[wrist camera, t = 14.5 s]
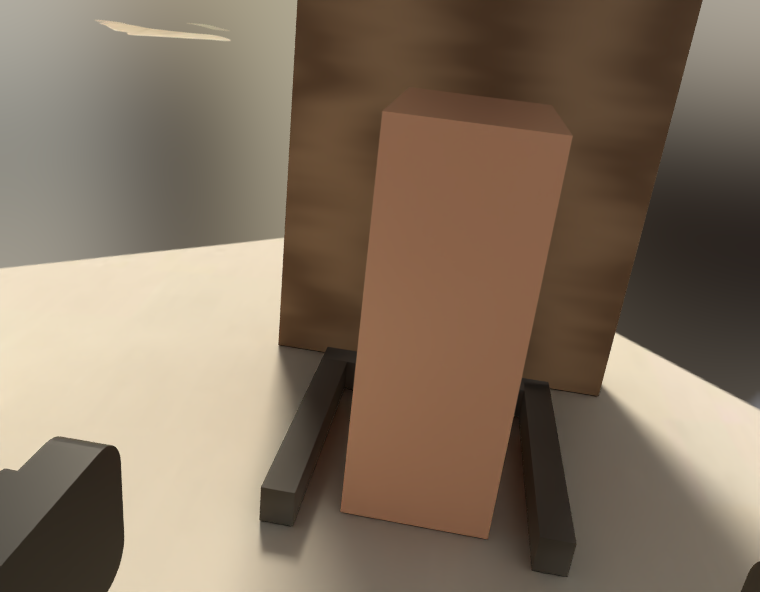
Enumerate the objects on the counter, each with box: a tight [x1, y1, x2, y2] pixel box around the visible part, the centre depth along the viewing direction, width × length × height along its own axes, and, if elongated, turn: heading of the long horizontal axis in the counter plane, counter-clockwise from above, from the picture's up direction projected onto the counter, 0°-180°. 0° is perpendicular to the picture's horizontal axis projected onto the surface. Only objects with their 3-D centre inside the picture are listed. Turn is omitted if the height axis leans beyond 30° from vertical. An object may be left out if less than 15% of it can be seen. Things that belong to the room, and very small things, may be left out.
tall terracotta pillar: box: [340, 87, 573, 539], centre depth 21 cm, size 4×6×12 cm
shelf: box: [260, 0, 702, 577], centre depth 20 cm, size 14×16×24 cm
